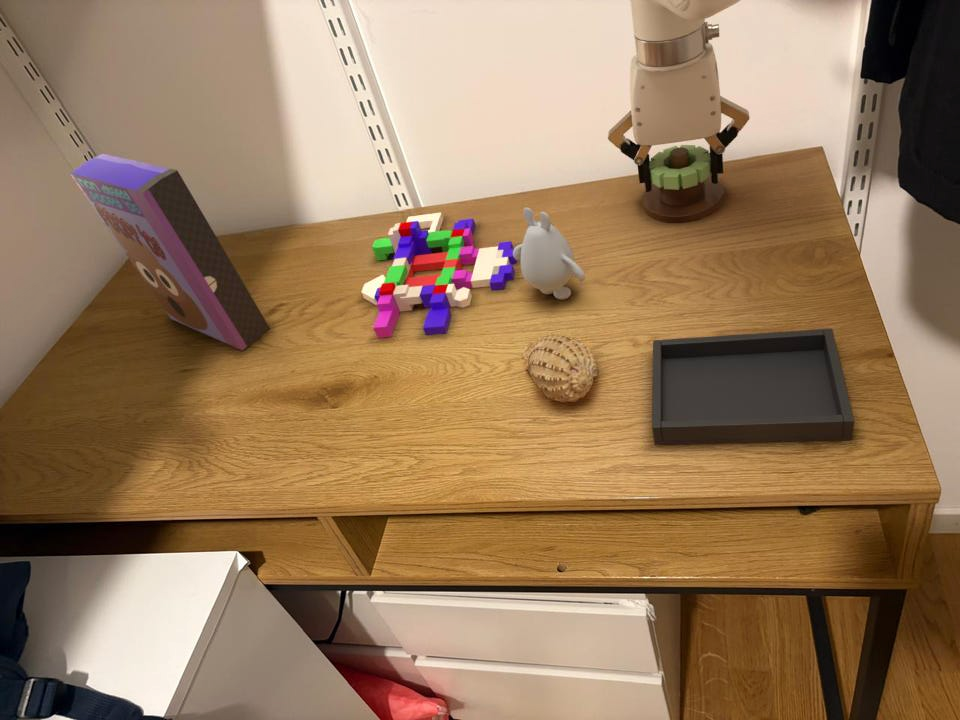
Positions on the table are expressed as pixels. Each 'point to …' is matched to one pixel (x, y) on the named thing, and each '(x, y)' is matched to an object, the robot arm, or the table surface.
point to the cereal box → (172, 247)
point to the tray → (750, 389)
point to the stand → (682, 196)
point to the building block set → (434, 289)
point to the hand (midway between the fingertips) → (681, 181)
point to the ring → (680, 177)
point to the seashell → (560, 367)
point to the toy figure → (546, 257)
